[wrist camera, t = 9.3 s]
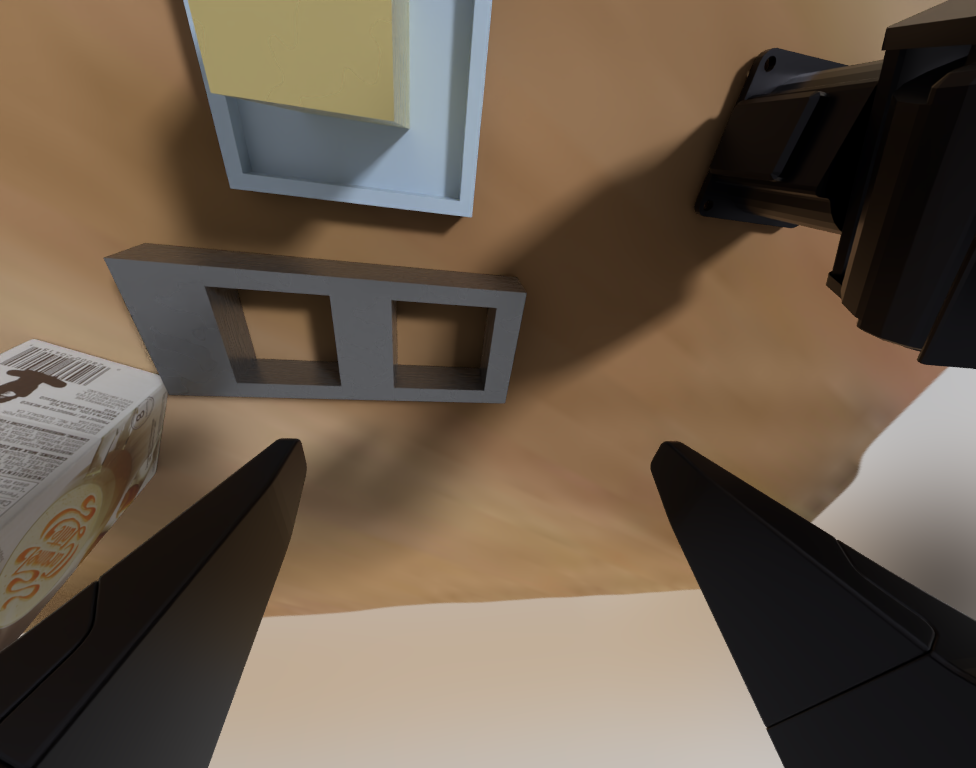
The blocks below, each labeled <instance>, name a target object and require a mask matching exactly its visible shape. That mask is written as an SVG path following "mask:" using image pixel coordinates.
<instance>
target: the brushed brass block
mask: <svg viewBox="0 0 976 768" xmlns="http://www.w3.org/2000/svg"><path fill="white" fill-rule="evenodd" d="M188 4H189V8H190V12H191V16H192V20H193V24H194V28H195V32H196V36H197V40H198V44H199V48H200V52H201V56H202V60H203V64H204V68H205V72H206V76H207V80H208V84H209V88H210V92H211V93H214V94H219V95H223V96H228V97H233V98H237V99H242V100H247V101H251V102H256V103H261V104H265V105H270V106H275V107H279V108H284V109H289V110H293V111H298V112H303V113H310V114H316V115H323V116H329V117H336V118H342V119H348V120H355V121H361V122H368V123H374V124H381V125H387V126H394V127H400V128H407V129H410V46H409V0H188Z"/></svg>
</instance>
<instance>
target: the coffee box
mask: <svg viewBox="0 0 976 768" xmlns="http://www.w3.org/2000/svg"><path fill="white" fill-rule="evenodd" d="M167 395H168V392H167V390H166V388H165V386H164V383H163V381H162V379H161V377H160V375H157V374H154V373H151V372H147V371H144V370H141V369H137V368H134V367H130V366H127V365H123V364H120V363H116V362H113V361H110V360H106V359H103V358H99V357H96V356H92V355H89V354H85V353H82V352H78V351H75V350H71V349H68V348H64V347H61V346H57V345H54V344H51V343H47V342H44V341H41V340H37V339H31V340H29V341H27V342H24V343H22V344H20V345H18V346H16V347H14V348H12V349H9V350H7V351H5V352H3V353H1V354H0V651H2V650H3V649H4V648H6V647H7V646H9V645H10V644H11V643H13V642H14V641H16V640H17V639H18V638H19V637H20V635H21V634H22V633H23V632H24V631H25V629H26V628H27V627H28V626H29V625H30V623H31V622H32V621H33V620H34V619H35V617H36V616H37V615H38V614H39V612H40V611H41V610H42V609H43V608H44V606H45V605H46V604H47V603H48V602H49V601H50V599H51V598H52V597H53V596H54V595H55V593H56V592H57V591H58V590H59V589H60V588H61V586H62V585H63V584H64V583H65V582H66V580H67V579H68V578H69V577H70V576H71V574H72V573H73V572H74V571H75V570H76V568H77V567H78V566H79V565H80V563H81V562H82V561H83V560H84V559H85V557H86V556H87V555H88V554H89V553H90V551H91V550H92V549H93V548H94V547H95V545H96V544H97V543H98V542H99V541H100V539H101V538H102V537H103V536H104V535H105V533H106V532H107V531H108V530H109V529H110V528H111V526H112V525H113V524H114V523H115V522H116V520H117V519H118V518H119V517H120V516H121V514H122V513H123V512H124V511H125V510H126V509H127V507H128V506H129V505H130V504H131V503H132V502H133V500H134V499H135V498H136V497H137V496H138V494H139V493H140V492H141V491H142V489H143V488H144V487H145V486H146V484H147V483H148V482H149V481H150V480H151V478H152V477H153V476H154V474H155V473H156V467H157V461H158V455H159V447H160V440H161V434H162V428H163V421H164V415H165V409H166V402H167Z"/></svg>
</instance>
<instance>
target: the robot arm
mask: <svg viewBox="0 0 976 768" xmlns="http://www.w3.org/2000/svg"><path fill="white" fill-rule="evenodd" d="M882 50H886V51H885V55H884V60H879V61H873V62H868V63H862V64H857V65H851V66H848V65H844V64H840V63H836V62H832V61H828V60H823V59H819V58H815V57H811V56H807V55H803V54H799V53H795V52H791V51H787V50H783V49H779V48H772V49H769V50H765V51H763V52H762V53H760V54H759V55H758V57H757V58H756V59H755V61H754V63H753V65H752V68H751V70H750V73H749V75H748V77H747V80H746V82H745V85H744V87H743V89H742V92H741V94H740V97H739V99H738V101H737V104H736V106H735V107H734V109H733V112H732V114H731V116H730V119H729V121H728V124H727V126H726V129H725V131H724V133H723V136H722V138H721V141H720V143H719V145H718V148H717V150H716V153H715V155H714V158H713V160H712V162H711V165H710V169H709V171H708V174H707V176H706V179H705V181H704V183H703V186H702V188H701V191H700V193H699V195H698V198H697V200H696V203H695V206H694V210H695V212H696V214H698V215H701V216H706V217H713V218H721V219H728V220H735V221H742V222H750V223H757V224H764V225H772V226H779V227H786V228H794V227H796V226H798V225H801V226H806V227H810V228H814V229H819V230H823V231H827V232H832V233H836V234H840V235H841V237H840V241H839V246H838V250H837V254H836V258H835V262H834V266H833V270H832V271H831V272H829V274H828V278H827V283H826V285H827V287H829V288H830V289H831V290H832V291H833V292H834V293H835V294H836V295H838V296H839V297H840V298H841V299H842V304H843V305H844V306H845V307H846V308H847V309H848V310H849V311H850V312H851V313H852V314H853V315H854V316H855V317H856V318H858V322H857V327H858V328H859V329H861V330H863V331H864V332H867V333H869V334H871V335H873V336H875V337H877V338H880V339H882V340H884V341H887V342H891V343H894V344H897V345H901V346H903V347H906V348H909V349H913V350H916V351H920V354H919V356H918V358H917V361H918V362H920V363H922V364H925V365H935V366H948V367H960V368H973V369H976V0H948V1H946V2H944V3H941V4H939V5H937V6H934V7H932V8H930V9H928V10H925V11H923V12H921V13H918V14H916V15H914V16H912V17H909V18H907V19H905V20H902V21H900V22H898V23H896V24H893V25H891V26H889V27H887V29H886V33H885V37H884V41H883V45H882ZM767 59H769V65H768V67H767V69H766V71H765V69H764V65H765V62H766V60H767ZM707 201H708V206H707V207H706V208H705V209H704V204H705V203H706V202H707ZM306 471H307V465H306V460H305V455H304V451H303V447H302V443H301V441H300V440H299V439H291V438H282V439H278V440H276V441H275V442H274V443H272V444H271V445H270V446H269V447H267V448H266V449H265V450H263V451H262V452H261V453H260V454H258V455H257V456H256V457H254V458H253V459H252V460H250V461H249V462H248V463H247V464H245V465H244V466H243V467H241V468H240V469H239V470H238V471H236V472H235V473H234V474H232V475H231V476H230V477H228V478H227V479H226V480H225V481H223V482H222V483H221V484H219V485H218V486H217V487H216V488H214V489H213V490H212V491H210V492H209V493H208V494H206V495H205V496H204V497H203V498H201V499H200V500H199V501H197V502H196V503H195V504H193V505H192V506H191V507H190V508H188V509H187V510H186V511H184V512H183V513H182V514H181V515H179V516H178V517H177V518H175V519H174V520H173V521H171V522H170V523H169V524H168V525H166V526H165V527H164V528H162V529H161V530H160V531H159V532H157V533H156V534H155V535H153V536H152V537H151V538H149V539H148V540H147V541H146V542H144V543H143V544H142V545H140V546H139V547H138V548H137V549H135V550H134V551H133V552H131V553H130V554H129V555H127V556H126V557H125V558H124V559H122V560H121V561H120V562H118V563H117V564H116V565H115V566H113V567H112V568H111V569H109V570H108V571H107V572H105V573H104V574H103V575H102V576H100V578H99V581H94V582H92V583H91V584H90V585H88V586H87V587H86V588H84V589H83V590H82V591H81V592H79V593H78V594H77V595H75V596H74V597H73V598H72V599H70V600H69V601H68V602H66V603H65V604H64V605H62V606H61V607H60V608H58V609H57V610H56V611H54V612H53V613H52V614H50V615H49V616H48V617H46V618H45V619H44V620H42V621H41V622H40V623H38V624H37V625H36V626H34V627H33V628H32V629H30V630H29V631H28V632H26V633H25V634H24V635H22V636H21V637H20V638H18V639H17V640H16V641H14V642H13V643H11V644H10V645H9V646H7V647H6V648H4V649H3V650H2V651H0V768H208V766H209V763H210V761H211V758H212V755H213V752H214V749H215V747H216V744H217V741H218V738H219V736H220V733H221V730H222V727H223V725H224V722H225V719H226V716H227V714H228V711H229V708H230V705H231V703H232V700H233V697H234V694H235V692H236V689H237V686H238V683H239V680H240V678H241V675H242V672H243V669H244V667H245V664H246V661H247V659H248V656H249V653H250V650H251V648H252V645H253V642H254V639H255V637H256V634H257V631H258V628H259V626H260V623H261V620H262V617H263V615H264V612H265V609H266V606H267V604H268V601H269V598H270V595H271V592H272V590H273V587H274V584H275V581H276V579H277V576H278V573H279V570H280V568H281V565H282V562H283V559H284V557H285V554H286V551H287V548H288V545H289V542H290V539H291V535H292V531H293V527H294V523H295V519H296V515H297V511H298V506H299V502H300V498H301V494H302V489H303V485H304V481H305V477H306ZM651 472H652V475H653V478H654V481H655V484H656V486H657V489H658V492H659V495H660V497H661V500H662V503H663V506H664V509H665V511H666V514H667V517H668V519H669V522H670V524H671V527H672V529H673V531H674V533H675V536H676V538H677V540H678V542H679V544H680V546H681V548H682V550H683V553H684V555H685V557H686V559H687V561H688V563H689V565H690V567H691V570H692V572H693V574H694V576H695V578H696V580H697V582H698V584H699V587H700V589H701V591H702V593H703V595H704V597H705V599H706V601H707V603H708V606H709V608H710V610H711V612H712V614H713V616H714V618H715V621H716V622H717V625H718V627H719V629H720V631H721V633H722V635H723V637H724V640H725V642H726V644H727V646H728V648H729V650H730V652H731V654H732V657H733V659H734V660H735V663H736V665H737V667H738V669H739V672H740V673H741V676H742V678H743V680H744V682H745V684H746V686H747V689H748V691H749V693H750V695H751V697H752V699H753V701H754V703H755V706H756V708H757V710H758V712H759V714H760V716H761V718H762V720H763V722H764V724H765V726H766V727H767V732H768V734H769V736H770V738H771V740H772V742H773V744H774V747H775V749H776V751H777V753H778V755H779V757H780V759H781V761H782V764H783V766H784V767H785V768H976V620H974V619H972V618H970V617H969V616H967V615H965V614H963V613H962V612H960V611H958V610H956V609H955V608H953V607H951V606H949V605H948V604H946V603H944V602H942V601H941V600H939V599H937V598H935V597H933V596H932V595H930V594H928V593H927V592H925V591H923V590H921V589H920V588H918V587H916V586H914V585H913V584H911V583H909V582H907V581H906V580H904V579H902V578H901V577H898V576H897V575H895V574H894V573H892V572H890V571H889V570H887V569H885V568H884V567H882V566H880V565H878V564H877V563H875V562H874V561H872V560H870V559H869V558H867V557H865V556H864V555H862V554H861V553H859V552H857V551H856V550H854V549H852V548H851V547H849V546H848V545H846V544H844V543H843V542H841V541H839V540H836V539H835V538H834V537H833V536H831V535H830V534H828V533H826V532H825V531H823V530H822V529H820V528H818V527H817V526H815V525H814V524H812V523H810V522H809V521H807V520H806V519H804V518H802V517H801V516H799V515H798V514H796V513H794V512H793V511H791V510H789V509H788V508H786V507H785V506H783V505H781V504H780V503H778V502H777V501H775V500H773V499H772V498H770V497H769V496H767V495H765V494H764V493H762V492H760V491H759V490H757V489H756V488H754V487H752V486H751V485H749V484H748V483H746V482H744V481H743V480H741V479H739V478H738V477H736V476H735V475H733V474H731V473H730V472H728V471H727V470H725V469H723V468H722V467H720V466H719V465H717V464H715V463H714V462H712V461H710V460H709V459H707V458H706V457H704V456H702V455H701V454H699V453H698V452H696V451H694V450H693V449H691V448H690V447H688V446H686V445H685V444H683V443H681V442H678V441H665V442H663V443H662V444H661V445H660V447H659V449H658V451H657V452H656V454H655V456H654V458H653V460H652V461H651Z"/></svg>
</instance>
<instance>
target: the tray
mask: <svg viewBox="0 0 976 768" xmlns="http://www.w3.org/2000/svg"><path fill="white" fill-rule="evenodd" d="M183 1H184V5H185V9H186V13H187V17H188V21H189V25H190V29H191V33H192V37H193V41H194V45H195V49H196V53H197V57H198V61H199V65H200V69H201V73H202V77H203V81H204V85H205V89H206V93H207V97H208V101H209V105H210V109H211V113H212V117H213V121H214V125H215V129H216V133H217V137H218V141H219V145H220V149H221V153H222V157H223V161H224V165H225V169H226V173H227V177H228V181H229V185H230V188H232V189H240V190H248V191H256V192H265V193H273V194H281V195H290V196H298V197H306V198H315V199H323V200H331V201H340V202H348V203H356V204H365V205H373V206H381V207H390V208H398V209H406V210H415V211H423V212H431V213H440V214H448V215H456V216H464V217H472V210H473V199H474V189H475V178H476V167H477V157H478V146H479V136H480V125H481V114H482V104H483V93H484V83H485V72H486V61H487V51H488V40H489V30H490V19H491V8H492V0H409V46H410V129H407V128H400V127H394V126H387V125H381V124H374V123H368V122H361V121H355V120H348V119H342V118H336V117H329V116H323V115H316V114H310V113H303V112H298V111H293V110H289V109H284V108H279V107H275V106H270V105H265V104H261V103H256V102H251V101H247V100H242V99H237V98H233V97H228V96H223V95H219V94H214V93H211V92H210V88H209V84H208V80H207V76H206V72H205V68H204V64H203V60H202V56H201V52H200V48H199V44H198V40H197V36H196V32H195V28H194V24H193V20H192V16H191V12H190V8H189V4H188V0H183Z"/></svg>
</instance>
